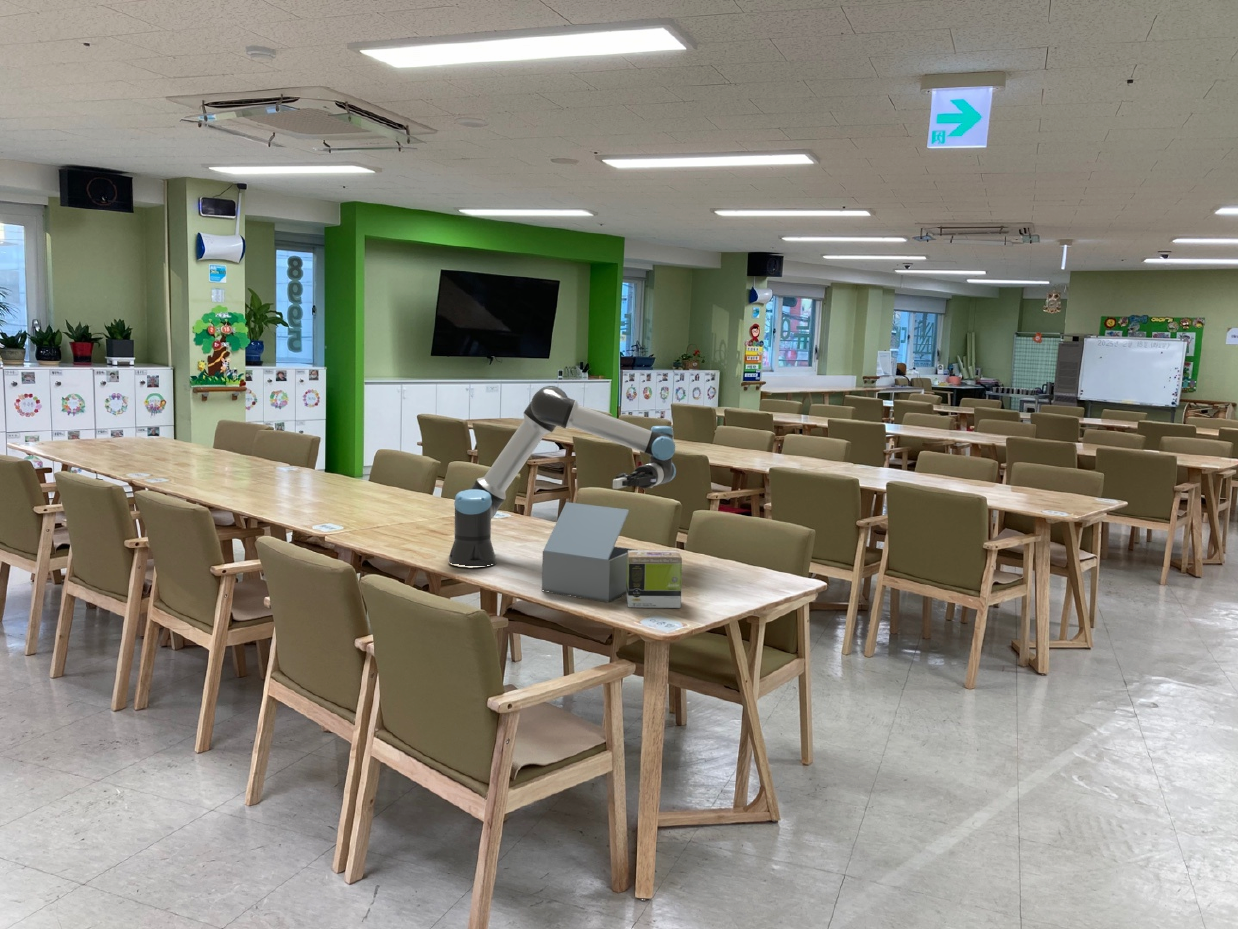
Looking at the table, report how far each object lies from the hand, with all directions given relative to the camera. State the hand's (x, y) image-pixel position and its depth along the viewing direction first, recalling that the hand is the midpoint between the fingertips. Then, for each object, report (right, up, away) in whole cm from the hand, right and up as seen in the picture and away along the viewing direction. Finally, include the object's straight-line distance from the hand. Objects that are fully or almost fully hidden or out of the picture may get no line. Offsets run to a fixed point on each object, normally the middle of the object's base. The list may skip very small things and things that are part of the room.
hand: (615, 484), depth 289 cm
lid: (-8, -13, -14) cm, 21 cm away
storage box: (-7, -31, -9) cm, 33 cm away
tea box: (+11, -34, -21) cm, 41 cm away
